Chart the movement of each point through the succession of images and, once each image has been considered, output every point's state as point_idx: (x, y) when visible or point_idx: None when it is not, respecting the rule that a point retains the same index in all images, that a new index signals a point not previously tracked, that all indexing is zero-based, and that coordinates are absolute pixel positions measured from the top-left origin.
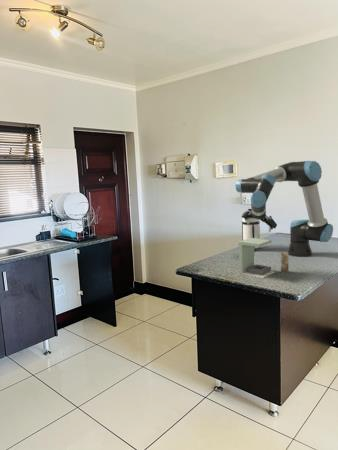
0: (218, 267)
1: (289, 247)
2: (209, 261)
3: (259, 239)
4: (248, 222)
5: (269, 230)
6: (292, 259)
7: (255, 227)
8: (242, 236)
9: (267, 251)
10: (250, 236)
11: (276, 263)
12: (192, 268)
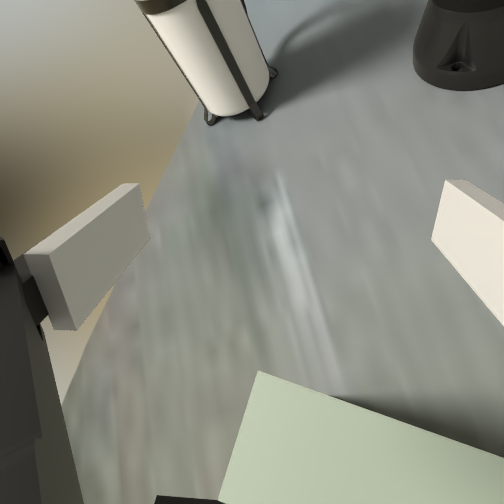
0: (162, 433)
1: (431, 45)
2: (115, 336)
3: (377, 463)
4: (132, 246)
5: (460, 265)
6: (487, 142)
7: (215, 2)
8: (181, 72)
9: (313, 90)
10: (215, 65)
11: (431, 248)
12: None
